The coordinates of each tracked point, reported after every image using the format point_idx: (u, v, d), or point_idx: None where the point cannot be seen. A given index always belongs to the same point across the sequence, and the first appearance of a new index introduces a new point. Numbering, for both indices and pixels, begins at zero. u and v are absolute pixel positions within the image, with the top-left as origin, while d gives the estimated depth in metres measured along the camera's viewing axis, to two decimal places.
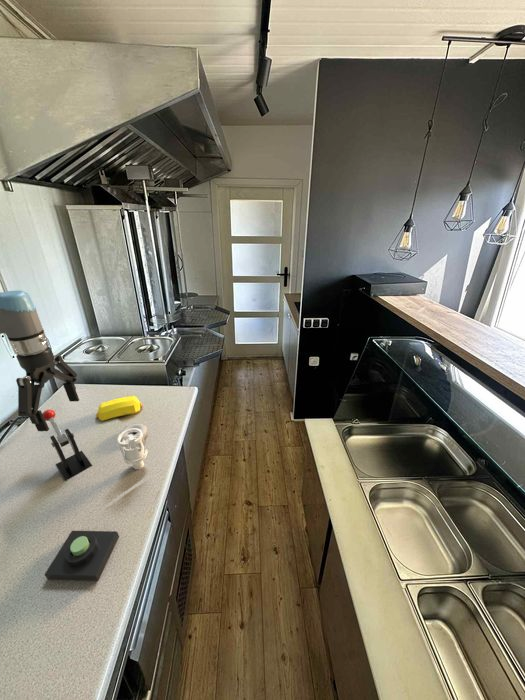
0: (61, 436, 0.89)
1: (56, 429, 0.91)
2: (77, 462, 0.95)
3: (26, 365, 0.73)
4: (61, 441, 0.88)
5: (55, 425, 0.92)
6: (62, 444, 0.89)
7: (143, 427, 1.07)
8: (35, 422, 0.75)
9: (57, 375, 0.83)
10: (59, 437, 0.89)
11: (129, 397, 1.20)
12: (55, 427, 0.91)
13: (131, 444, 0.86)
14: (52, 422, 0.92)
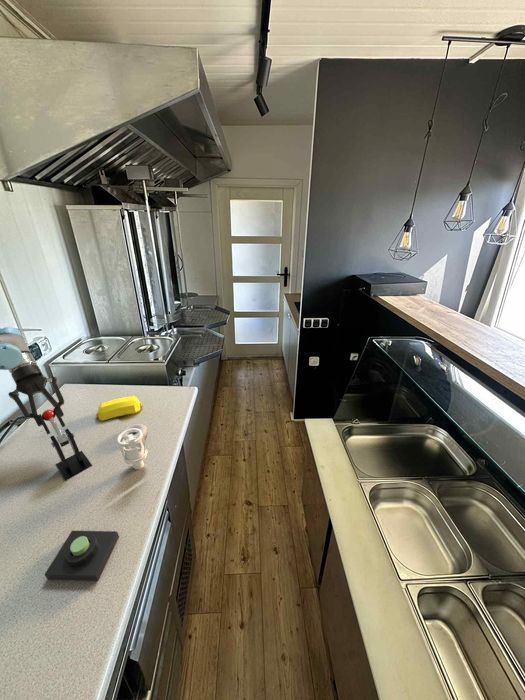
0: (61, 436, 0.89)
1: (56, 429, 0.91)
2: (77, 462, 0.95)
3: (40, 371, 0.98)
4: (61, 441, 0.88)
5: (55, 425, 0.92)
6: (62, 444, 0.89)
7: (143, 427, 1.07)
8: None
9: None
10: (59, 437, 0.89)
11: (129, 397, 1.20)
12: (55, 427, 0.91)
13: (131, 444, 0.86)
14: (52, 422, 0.92)
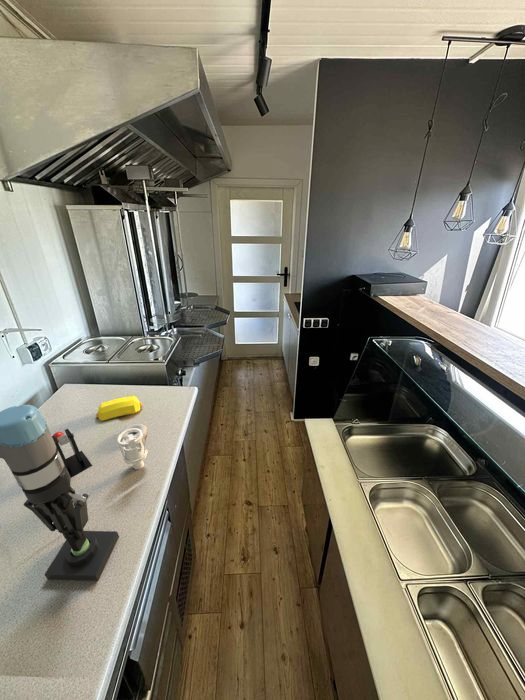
0: (61, 436, 0.90)
1: None
2: (77, 462, 0.95)
3: (66, 483, 0.59)
4: (59, 438, 0.89)
5: (60, 436, 0.94)
6: (61, 441, 0.88)
7: (143, 427, 1.07)
8: (83, 533, 0.66)
9: None
10: (59, 437, 0.90)
11: (129, 397, 1.20)
12: None
13: (131, 444, 0.86)
14: (58, 437, 0.95)
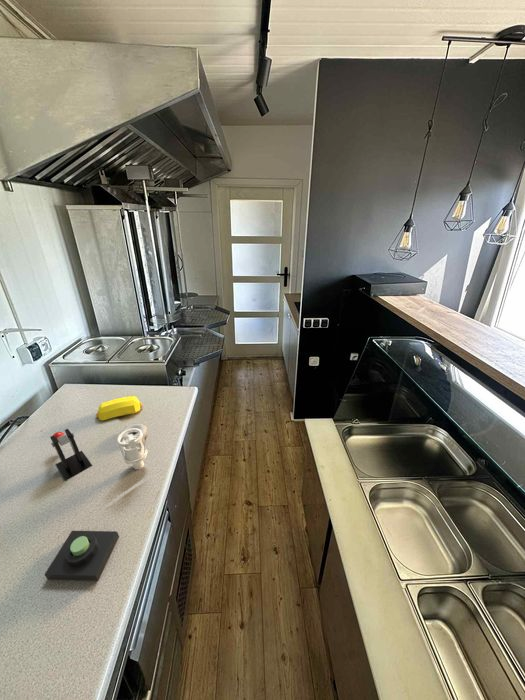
0: (61, 436, 0.90)
1: None
2: (77, 462, 0.95)
3: None
4: (59, 438, 0.89)
5: (60, 436, 0.94)
6: (61, 441, 0.88)
7: (143, 427, 1.07)
8: None
9: None
10: (59, 437, 0.90)
11: (129, 397, 1.20)
12: None
13: (131, 444, 0.86)
14: (58, 437, 0.95)
